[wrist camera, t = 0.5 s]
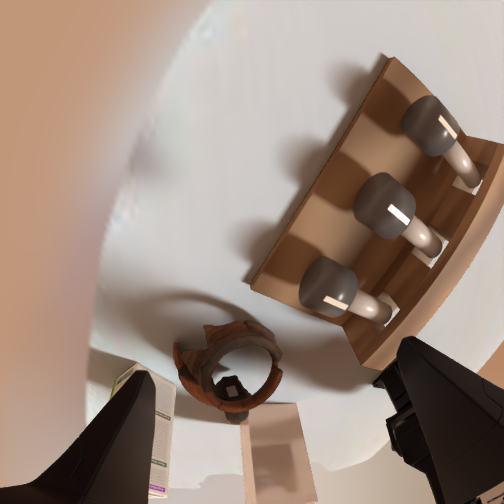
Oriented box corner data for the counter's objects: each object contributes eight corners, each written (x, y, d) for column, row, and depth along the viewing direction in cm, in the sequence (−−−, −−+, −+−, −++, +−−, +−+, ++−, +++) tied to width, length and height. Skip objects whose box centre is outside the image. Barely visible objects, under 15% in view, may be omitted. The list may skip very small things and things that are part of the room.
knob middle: (432, 220, 19) (460, 238, 16) (409, 256, 21) (434, 278, 17) (373, 167, 17) (403, 179, 14) (346, 211, 18) (370, 231, 15)
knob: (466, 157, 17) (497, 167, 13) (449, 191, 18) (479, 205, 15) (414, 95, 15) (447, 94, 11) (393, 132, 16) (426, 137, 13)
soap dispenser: (237, 431, 34) (248, 561, 14) (247, 403, 30) (263, 566, 10) (279, 431, 35) (300, 555, 15) (296, 403, 31) (329, 554, 11)
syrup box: (136, 360, 26) (107, 481, 13) (179, 385, 28) (169, 500, 15) (115, 378, 27) (87, 482, 14) (154, 401, 29) (140, 501, 16)
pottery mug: (153, 319, 24) (170, 355, 17) (240, 287, 28) (286, 306, 21) (193, 409, 26) (221, 456, 19) (264, 377, 30) (306, 411, 23)
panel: (474, 154, 18) (518, 168, 13) (359, 329, 26) (382, 371, 20) (389, 58, 15) (436, 45, 9) (250, 284, 22) (256, 333, 17)
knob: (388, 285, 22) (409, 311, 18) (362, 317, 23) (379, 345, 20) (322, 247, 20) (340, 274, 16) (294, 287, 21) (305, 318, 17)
